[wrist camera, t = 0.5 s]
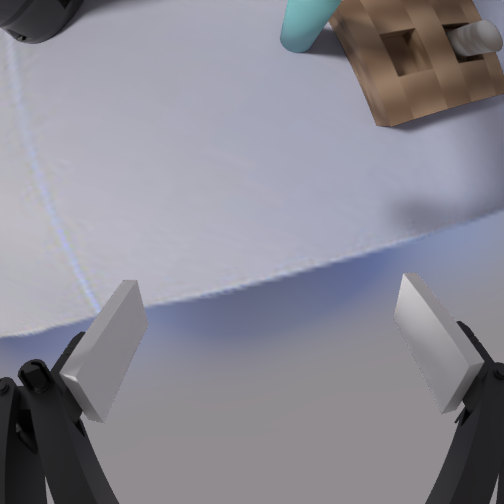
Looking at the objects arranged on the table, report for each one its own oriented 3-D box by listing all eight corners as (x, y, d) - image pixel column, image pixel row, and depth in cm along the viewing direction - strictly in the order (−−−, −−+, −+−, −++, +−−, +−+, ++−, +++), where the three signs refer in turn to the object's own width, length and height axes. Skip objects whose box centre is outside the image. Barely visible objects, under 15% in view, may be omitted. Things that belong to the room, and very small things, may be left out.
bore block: (325, 15, 28) (347, -19, 18) (449, -2, 23) (489, -21, 13) (376, 125, 33) (416, 128, 23) (488, 92, 29) (536, 94, 19)
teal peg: (274, 31, 29) (281, -21, 15) (304, 21, 28) (327, -31, 15) (288, 57, 31) (305, 17, 17) (318, 47, 30) (350, 6, 16)
